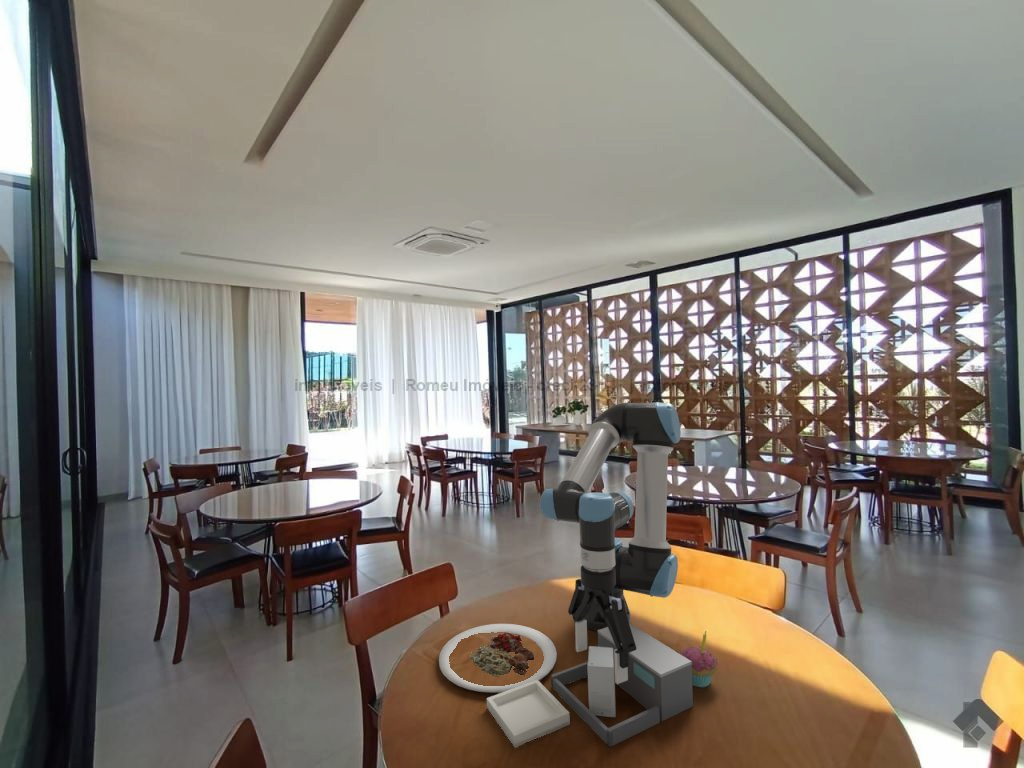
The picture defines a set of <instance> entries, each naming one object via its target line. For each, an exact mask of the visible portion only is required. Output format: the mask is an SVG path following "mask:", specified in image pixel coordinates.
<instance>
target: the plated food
mask: <svg viewBox="0 0 1024 768" xmlns="http://www.w3.org/2000/svg"><path fill="white" fill-rule="evenodd" d="M491 632H494V633H497V632H505V633H504V634H502V635H501V634H498V636H496V637H494V636H492V637H491V641H492V643H491V644H490V646H489V645H486V646H487V647H485V646H484V647H480V648H477V649H478V651H476V653H475V654H472V652H471V653H470V654H471V655H470V657H469V658H470V659H471V658H472V659H473V662H474V665H475V666H477V665H478V666H479V667H481V668H482V669H481V671H484V672H483V673H486V672H487V673H489V674H491V675H492V676H494V677H499V676H500V675H504V674H508V673H509V672H510V670H511V668H512V666H514V667H515V668H514V669H513V670H514V672H515V673H518V674H520V675H524V676H525V674H526V672H527V671H526V669H528V668H529V665H528V663H527V661H528V660H534V653H533V652H532V651H530V650H528V649H527V648H525V647H523V646H522V645H523V644H522V643H521V642H520V641H522V640H521V638H520V635H521V636H524V637H526V638H529V639H531V640H532V641H534V642H536V644H537V645H538V646H539V647H540V648H541V650H542V652H543V656H544V661H543V664H542V666H541V668H540V669H539V670H538V671H537V673H535V674H534V675H533V676H531V677H530V678H528V679H526V680H524V681H521V682H518V683H515V684H510V685H505V686H483V685H478V684H474V683H471V682H468V681H466V680H463V678H460V677H459V676H458V675H457V674H456V673H455V672H454V671H453V670H452V669H451V668H450V664H449V663H450V662H449V656H450V654H451V653H452V652H453V650H454V649H455V648H456V646H457V644H458V642H460V641H461V639H464V638H468V637H469V636H471V635H474V634H478V633H491ZM510 633H512V634H510ZM513 634H518V636H514V635H513ZM493 637H494V638H493ZM509 652H515V654H516V655H515V656H513V657H512V656H511V655H509V654H508V653H509ZM438 656H439V657H438V665H439V666H438V667H439V669H440V671H441V673H442V675H443V676H444V677H445V678H446V679H447V680H448V681H449V682H452V684H454V685H456V686H458V687H460V688H463V689H466V690H469V691H474V692H480V693H491V694H492V693H502V692H505V691H508V690H510V689H513V688H516V687H518V686H521V685H524V684H526V683H529V682H532V681H534V680H538V681H539V682H541V680H543V678H545V677H546V676H548V675H549V673H550V672H552V670H553V669H554V667H555V665H556V662H557V657H558V655H557V649H556V646H555V644H554V643H553V641H552V640H551V639H550V638H549V637H548V636H547V635H545V634H544V633H542V632H541V631H539V630H537V629H534V628H532V627H529V626H524V625H519V624H515V623H514V624H513V623H490V624H483V625H480V626H476V627H473V628H469V629H467V630H464V631H462V632H460V633H458V634H456V635H455V636H453V637H452V638H450V640H448V641H447V642H446V643H445V645H444V646H442V648H441V651H440V653H439V655H438ZM470 661H471V660H470ZM521 670H522V671H521ZM523 671H524V672H523Z"/></svg>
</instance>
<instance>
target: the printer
mask: <svg viewBox="0 0 1024 768" xmlns="http://www.w3.org/2000/svg"><path fill="white" fill-rule="evenodd" d="M629 625H630V628H631V631H632V635H633V638H634V641H635V645H636V650H635V651H632V652H629V666H628V680H627V681H624V682H622V683H619V684H617V683H615V685H617V686H619V687H618V688H621V689H622V690H623V691H624V692H625V693H627V694H628V695H629V696H631V697H632V699H634V700H635V701H636V702H638V703H639V704H640V705H641V706H643V707H644V708H645V709H646V710H644V711H642V712H640V713H638V714H636V715H633V716H631V717H629V718H627V719H625V720H623V721H621V722H618V723H616V724H615V725H612V726H609V727H607V725H606V724H604V723H603V721H601V719H599V718H598V716H595V715H594V714H593V713H592V712H591V711H590V710H589V707H587V706H586V705H585V704H584V703H582V701H581V700H580V699H578V698H577V697H576V695H574V694H573V693H572V692H571V691H570V690H569V689H568V688H567V687H566V686H567V685H566V684H568V683H570V682H573V681H575V682H577V681H576V680H578V679H580V680H582V679H581V678H583V679H585V678H584V677H586V678H588V677H587V676H588V669H587V665H588V661H585V662H582V663H579V664H577V665H575V666H572V667H570V668H567V669H564V670H562V671H559V672H556V673H553V674H551V675H550V676H551V677H550V679H551V689H552V688H553V689H554V690H555V691H556V692H557V693H558V694H559V695H560V696H561V697H562V698H561V697H560V696H559V695H558V694H557V693H556V692H555V691H554V690H553V689H552V690H553V691H554V692H555V693H556V694H557V695H558V696H559V697H560V698H561V699H562V700H563V702H564V703H566V704H567V705H568V707H569V708H570V709H571V710H573V712H574V713H576V715H577V716H578V717H579V718H580V719H581V720H582V721H583V722H584V723H585V722H586V723H587V724H588V725H589V726H590V727H591V728H590V727H589V728H590V729H591V731H594V733H595V734H596V735H597V736H598V737H599V738H600V739H601V740H602V741H603V742H604V743H605V744H606V745H607V746H608V747H609V748H611V747H613V746H615V745H617V744H619V743H622V742H623V741H625V740H627V739H630V738H631V737H635V736H636V735H638V734H640V733H642V732H644V731H646V730H648V729H650V728H652V727H654V726H657V724H660V723H661V722H664V721H666V720H668V719H670V718H672V717H674V716H676V715H679V714H680V713H682V712H684V711H686V710H688V709H690V708H693V707H694V699H693V698H694V697H693V694H694V693H693V685H692V661H690V660H688V659H687V658H685V657H684V656H682V655H680V654H679V653H680V652H676V651H675V650H674V649H672V648H671V647H669V646H668V645H665V644H664V643H663V642H661V641H660V640H658V639H656V638H655V637H653V636H651V635H650V634H648V633H646V631H643V630H642V629H640V628H638V627H637V626H635V625H634V624H632V623H631V622H630V623H629ZM621 645H622V644H621ZM597 647H608V648H613V652H614V650H616V649H617V648H616V645H615V643H614V640H613V638H612V636H611V633H610V631H609V628H608V627H606V628H603V629H600V630H598V631H597ZM614 672H615V657H614ZM578 681H579V680H578ZM573 683H574V682H573ZM570 684H571V683H570ZM564 685H565V686H564ZM568 685H569V684H568ZM586 723H585V724H586ZM587 724H586V725H587ZM588 725H587V726H588Z"/></svg>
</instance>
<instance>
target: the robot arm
mask: <svg viewBox="0 0 1024 768" xmlns="http://www.w3.org/2000/svg"><path fill="white" fill-rule="evenodd" d="M587 434H588V436H587V438H586V440H585V441H584V444H583V445H582V446H581V448H580V449H579V451H578V453H577V455H576V456H575V458H574V460H573V461H572V462H571V465H570V466H569V468H568V470H567V471H566V473H565V474H564V477H563V478H562V479H561V481H560V483H559V485H558V486H557V488H554V487H553V488H547V489H545V490H543V492H542V494H541V496H540V500H539V509H540V511H541V514H542V516H543V517H544V518H546V519H549V520H554V521H558V522H559V521H560V522H567V523H570V522H571V523H575V524H579V541H580V542H579V546H580V547H579V548H580V564H581V566H580V578H578V579H576V580H575V584H574V585H575V587H574V591H573V594H572V597H571V601H570V603H569V606H568V610H567V613H568V615H569V616H572V620H573V621H574V635H575V651H576V652H577V653H580V652H583V651H586V650H588V630H591V631H595V632H598V630H600V629H603V628H606V627H608V628H609V631H610V633H611V636H612V638H613V640H614V643H615V645H616V648H617V649H616V650H614V657H615V684H616V683H617V684H619V683H622V682H624V681H627V680H628V666H629V652H632V651H635V650H636V645H635V641H634V638H633V635H632V631H631V628H630V625H629V623H631V612H630V609H629V606H628V603H627V600H626V597H625V594H624V591H627V592H630V593H631V592H632V593H637V594H642V595H645V596H650V597H651V598H653V597H656V598H662V599H665V598H668V597H669V596H671V594H672V592H673V590H674V587H675V584H676V581H677V577H678V570H679V563H678V561H679V560H678V559H679V558H678V556H677V554H674V553H672V546H671V545H670V543H669V542H668V541H667V536H666V535H667V504H668V500H667V499H668V470H669V469H668V466H669V465H668V463H669V454H670V453H672V452H673V451H674V447H675V446H674V444H677V443H679V442H680V440H681V434H682V433H681V423H680V418H679V414H678V411H677V409H676V407H675V406H674V405H673V404H672V403H668V402H659V401H656V402H621V403H617V404H615V405H612V406H611V407H609V408H607V409H605V410H604V411H602V413H600V414H599V415H598V416H597V417H596V418H595V419H594V420H593V421H592V423H591V425H590V426H589V428H588V433H587ZM625 441H626V442H627V441H628V442H632V448H633V449H634V450H635V451H636V452H637V457H636V458H637V459H636V461H637V462H636V483H635V484H636V485H635V487H636V488H635V508H634V503H633V501H632V499H631V498H630V497H629V496H628V495H627V494H626V493H624V492H621V491H614V492H610V493H607V492H590V491H591V488H592V487H593V484H594V483H595V481H596V479H597V477H598V475H599V473H600V472H601V470H602V467H603V465H604V463H605V462H606V460H607V458H608V456H609V454H610V452H611V450H612V449H613V448H615V447H617V446H618V444H619V443H620V442H625ZM634 510H635V513H634ZM634 514H635V515H634ZM633 515H634V536H633V537H632V538H631V539H630V540H629V541H628V546H624V545H623V542H622V540H621V539H619V538H617V537H616V536H615V534H616V533H615V532H616V530H618V529H619V528H621V527H622V526H624V525H626V524H627V523H628V522H629V521H630V519H631V518H632V517H633ZM621 644H622V645H621ZM617 684H616V685H617Z"/></svg>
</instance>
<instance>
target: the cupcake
mask: <svg viewBox="0 0 1024 768" xmlns="http://www.w3.org/2000/svg"><path fill="white" fill-rule="evenodd" d="M706 640H707V630H705V632H704V633H703V634H702V641H701V647H697V646H695V647H693V646H690V647H686V648H683V649H682V651H680V652H678V653H679V654H680V655H682V656H684V657H685V658H687V659H688V660H690V661H692V686H694V687H696V688H697V687H698V688H706V687H708V686H709V685H710V683H711V680H712V676H714V675H715V674H716V672H717V671H718V661H717V660H718V659H717V658H716V657H715V655H713V654H712V653H711V652H709V651H708V650H706V649H705V648H706V642H707V641H706Z"/></svg>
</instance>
